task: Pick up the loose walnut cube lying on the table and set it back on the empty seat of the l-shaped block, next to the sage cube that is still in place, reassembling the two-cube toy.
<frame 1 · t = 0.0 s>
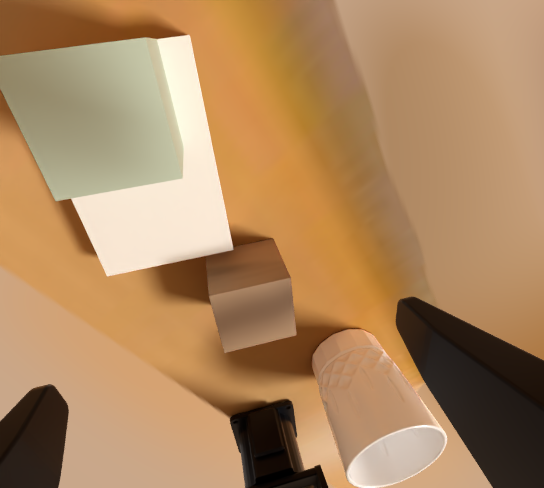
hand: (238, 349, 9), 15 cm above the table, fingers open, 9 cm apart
l-shaped block: (146, 162, 20), on the table
walnut cube: (244, 272, 26), on the table
white cup: (343, 351, 33), on the table
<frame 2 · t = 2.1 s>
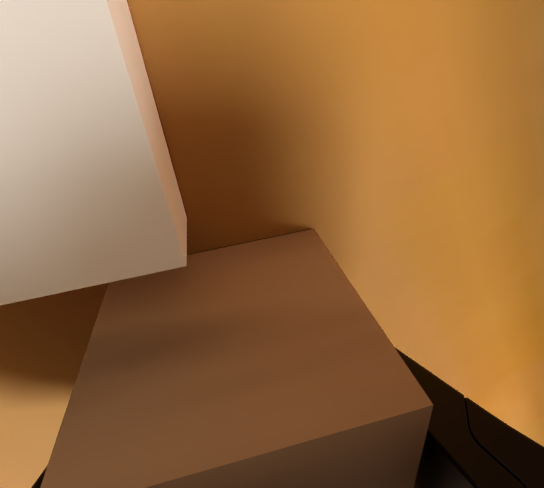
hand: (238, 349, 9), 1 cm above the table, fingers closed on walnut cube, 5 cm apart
walnut cube: (233, 321, 10), on the table, touching gripper
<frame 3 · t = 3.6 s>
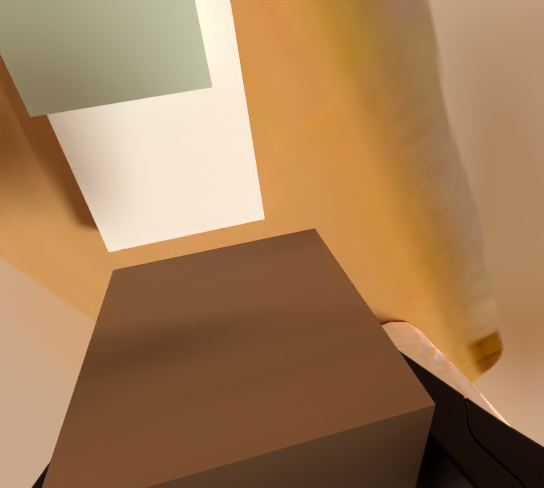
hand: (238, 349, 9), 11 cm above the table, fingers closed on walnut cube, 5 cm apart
l-shaped block: (156, 105, 16), on the table
walnut cube: (234, 321, 10), point 10 cm above the table, touching gripper
white cup: (383, 349, 29), on the table
when the fingers open (4 cm above the table, at t = 5.4 s): walnut cube drops 1 cm, resting on l-shaped block.
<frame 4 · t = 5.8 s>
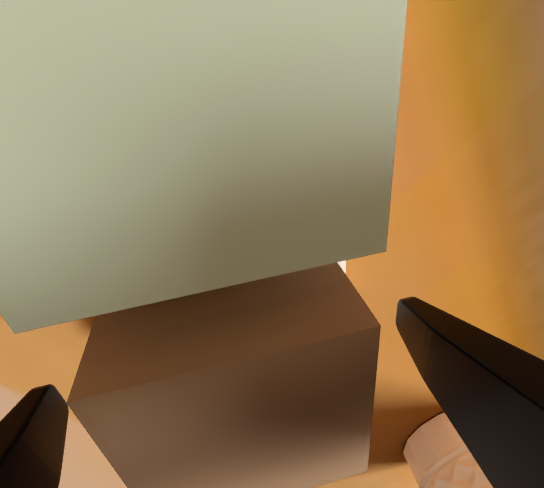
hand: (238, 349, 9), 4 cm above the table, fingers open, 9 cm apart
l-shaped block: (205, 180, 11), on the table
walnut cube: (228, 289, 11), point 2 cm above the table, touching l-shaped block
white cup: (444, 431, 24), on the table
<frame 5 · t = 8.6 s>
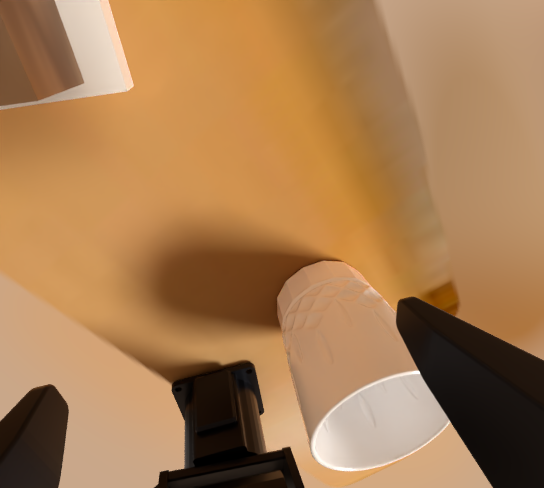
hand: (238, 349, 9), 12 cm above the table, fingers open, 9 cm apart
white cup: (319, 295, 25), on the table
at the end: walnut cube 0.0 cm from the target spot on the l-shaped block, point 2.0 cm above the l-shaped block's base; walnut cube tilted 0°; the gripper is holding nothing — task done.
